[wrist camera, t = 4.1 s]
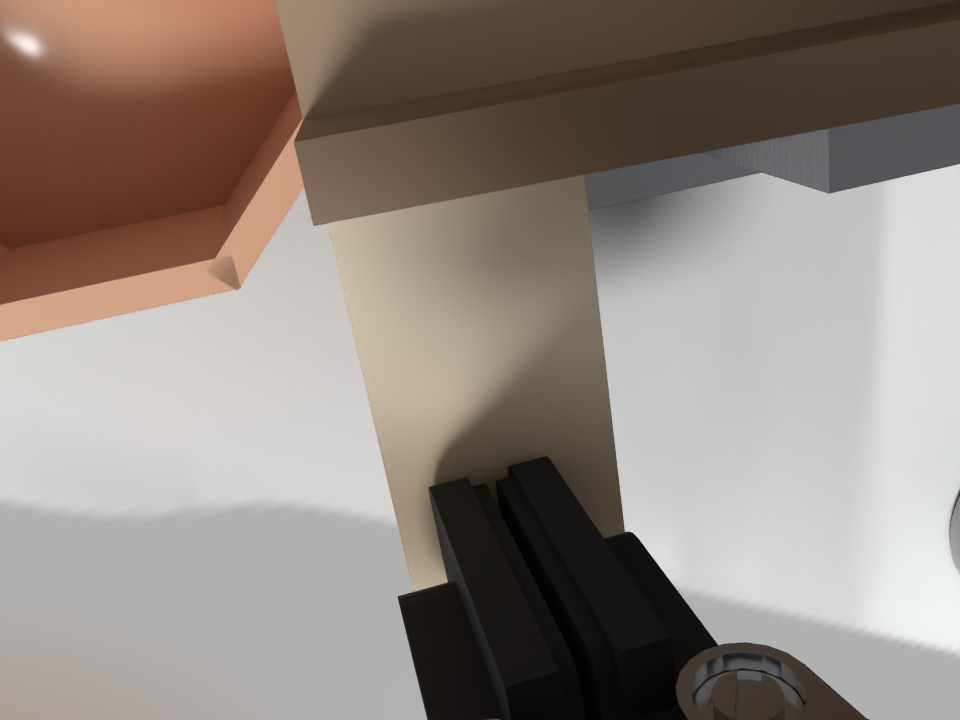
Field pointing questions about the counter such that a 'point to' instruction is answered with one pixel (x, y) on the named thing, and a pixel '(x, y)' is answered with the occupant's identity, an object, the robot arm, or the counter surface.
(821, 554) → the counter surface
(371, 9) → the tilt chute
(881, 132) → the chute stand
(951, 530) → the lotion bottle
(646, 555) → the robot arm
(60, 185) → the terracotta bowl
